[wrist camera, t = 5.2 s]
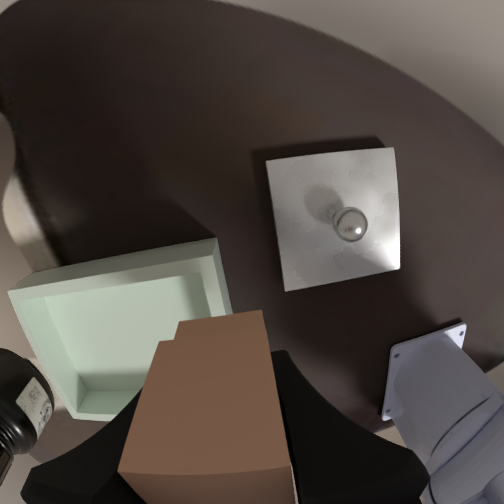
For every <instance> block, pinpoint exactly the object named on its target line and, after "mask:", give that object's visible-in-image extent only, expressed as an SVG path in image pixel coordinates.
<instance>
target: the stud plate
mask: <svg viewBox="0 0 504 504" xmlns="http://www.w3.org/2000/svg"><path fill="white" fill-rule="evenodd" d="M265 167H266V173H267V180H268V186H269V192H270V199H271V205H272V212H273V218H274V225H275V232H276V239H277V246H278V252H279V259H280V267H281V274H282V281H283V286H284V289H285V291H291V290H296V289H302V288H307V287H313V286H318V285H323V284H328V283H333V282H338V281H343V280H348V279H353V278H358V277H363V276H368V275H372V274H377V273H382V272H386V271H391V270H396V269H400V224H399V202H398V187H397V174H396V164H395V154H394V148H393V147H386V148H372V149H360V150H349V151H338V152H329V153H320V154H311V155H303V156H295V157H288V158H281V159H274V160H267V161H265Z"/></svg>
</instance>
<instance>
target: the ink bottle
mask: <svg viewBox="0 0 504 504" xmlns="http://www.w3.org/2000/svg"><path fill="white" fill-rule="evenodd" d="M53 410H54V397H53V394H52V391H51V389H50V387H49V385H48V384H47V382H46V381H45V380H44V378H43V377H42V376H41V375H40V374H39V372H38V371H37V370H36V369H35V368H34V367H33V366H31V365H30V364H29V363H28V362H27V361H26V360H24V359H23V358H22V357H20V356H19V355H17V354H15V353H14V352H12V351H10V350H7V349H4V348H0V486H1V485H2V483H3V481H4V478H5V476H6V474H7V473H8V471H9V469H10V467H11V465H12V462H13V460H14V456H13V455H16V454H26V453H29V452H30V451H31V450H32V449H33V447H34V445H35V443H36V441H37V440H38V438H39V436H40V434H41V432H42V430H43V429H44V427H45V425H46V423H47V421H48V420H49V418H50V416H51V414H52V412H53Z"/></svg>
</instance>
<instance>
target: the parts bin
mask: <svg viewBox="0 0 504 504" xmlns="http://www.w3.org/2000/svg"><path fill="white" fill-rule="evenodd" d="M7 292H8V295H9V297H10V300H11V302H12V305H13V307H14V310H15V312H16V314H17V317H18V319H19V321H20V324H21V326H22V328H23V330H24V332H25V334H26V337H27V339H28V341H29V343H30V345H31V347H32V349H33V351H34V353H35V355H36V357H37V359H38V361H39V362H40V364H41V366H42V368H43V370H44V372H45V373H46V375H47V377H48V379H49V380H50V382H51V384H52V385H53V387H54V389H55V390H56V392H57V394H58V395H59V397H60V399H61V400H62V402H63V403H64V405H65V406H66V408H67V409H68V411H69V412H70V414H71V415H72V417H73V418H74V419H83V420H98V421H111V420H112V419H113V418H114V417H116V416H117V415H118V414H119V412H120V411H121V410H122V409H123V408H124V407H125V406H126V405H127V404H128V403H129V402H130V401H131V400H132V399H133V398H134V396H135V395H136V394H137V393H138V392H139V391H140V389H141V388H142V387H143V386H144V383H145V380H146V377H147V374H148V371H149V368H150V365H151V362H152V360H153V357H154V354H155V351H156V348H157V345H158V343H159V341H165V340H174V336H175V333H176V330H177V326H178V323H179V321H185V320H193V319H200V318H208V317H215V316H223V315H230V314H233V312H232V307H231V303H230V298H229V294H228V289H227V284H226V280H225V275H224V270H223V265H222V260H221V256H220V251H219V246H218V241H217V237H216V238H210V239H205V240H199V241H193V242H188V243H182V244H177V245H171V246H166V247H161V248H155V249H150V250H145V251H139V252H134V253H129V254H124V255H118V256H113V257H108V258H103V259H98V260H93V261H88V262H83V263H78V264H73V265H68V266H63V267H58V268H53V269H48V270H44V271H39V272H34V273H32V274H30V275H29V276H27V277H26V278H25V279H23V280H22V281H20V282H19V283H18V284H16V285H15V286H13V287H12V288H11V289H9V290H8V291H7Z"/></svg>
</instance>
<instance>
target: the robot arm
mask: <svg viewBox="0 0 504 504" xmlns="http://www.w3.org/2000/svg"><path fill="white" fill-rule="evenodd" d="M465 331H466V324H465V323H464V322H461V323H458V324H456V325H453V326H450V327H447V328H445V329H442V330H439V331H436V332H433V333H430V334H427V335H424V336H421V337H418V338H415V339H412V340H408V341H405V342H402V343H398V344H396V345H394V346H393V347H392V348H391V351H390V360H389V369H388V377H387V384H386V391H385V398H384V404H383V410H382V416H381V417H382V419H383V420H388V419H391V418H392V419H393V421H394V423H395V425H396V427H397V429H398V431H399V433H400V435H401V437H402V439H403V441H404V443H405V445H406V447H407V448H405V447H402V446H400V445H397V444H395V443H392V442H390V441H387V440H386V439H384V438H382V437H380V436H377V435H376V434H374V433H372V432H370V431H369V430H367V429H365V428H363V427H362V426H360V425H359V424H357V423H355V422H354V421H352V420H351V419H349V418H348V417H347V416H345V415H344V414H342V413H341V412H340V411H339V410H337V409H336V408H335V407H334V406H332V405H331V404H330V403H329V402H328V401H327V400H326V399H325V398H324V397H323V396H322V395H321V394H320V393H318V392H317V391H316V389H315V388H314V387H313V386H312V385H311V384H310V383H309V382H308V381H307V379H306V378H305V377H304V376H303V375H302V373H301V372H300V371H299V369H298V368H297V367H296V365H295V364H294V362H293V361H292V359H291V358H290V356H289V354H288V352H287V351H286V350H280V351H274V352H270V354H271V359H272V365H273V370H274V376H275V381H276V387H277V392H278V398H279V403H280V409H281V414H282V420H283V425H284V431H285V437H286V442H287V448H288V453H289V456H290V460H291V464H292V467H293V474H294V479H295V485H296V491H297V496H298V503H299V504H422V503H421V500H420V498H419V497H420V496H421V494H422V498H423V503H424V504H504V394H503V393H502V392H501V391H500V390H499V389H498V388H497V386H496V385H495V384H494V383H493V382H492V381H491V380H490V379H489V378H488V377H487V375H486V374H485V373H484V372H483V371H482V370H481V369H480V368H479V367H478V366H477V365H476V364H475V363H474V362H473V361H472V359H471V358H470V357H469V356H468V355H467V354H466V353H465V352H464V351H463V350H462V344H463V340H464V335H465ZM396 354H397V355H396ZM142 389H143V387H142V388H141V389H140V391H139V392H138V393H137V394H136V395H135V396H134V398H133V399H132V400H131V401H130V402H129V403H128V404H127V405H126V406H125V407H124V408H123V409H122V410H121V411H120V412H119V414H118V415H117V416H116V417H114V418H113V419H112V420H111V421H110V422H109V423H108V424H107V425H106V426H104V427H103V428H102V429H101V430H100V431H98V432H97V433H96V434H94V435H93V436H92V437H90V438H89V439H87V440H86V441H84V442H83V443H82V444H80V445H79V446H77V447H75V448H74V449H72V450H70V451H69V452H67V453H65V454H63V455H61V456H59V457H57V458H55V459H53V460H50V461H48V462H46V463H43V464H41V465H38V466H36V467H33V468H31V471H30V473H29V475H28V477H27V479H26V482H25V484H24V486H23V488H22V490H21V493H20V494H21V496H22V499H23V500H24V501H25V502H26V503H27V504H147V503H146V502H145V501H144V500H143V499H142V498H141V497H140V496H139V495H138V494H137V493H136V492H135V491H134V490H133V489H132V487H131V486H130V485H129V484H128V483H127V482H126V481H125V480H124V478H123V477H122V476H121V475H120V474H119V473H118V467H119V463H120V460H121V456H122V453H123V450H124V446H125V443H126V439H127V436H128V433H129V430H130V426H131V423H132V420H133V417H134V414H135V410H136V407H137V404H138V401H139V398H140V395H141V392H142Z"/></svg>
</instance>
